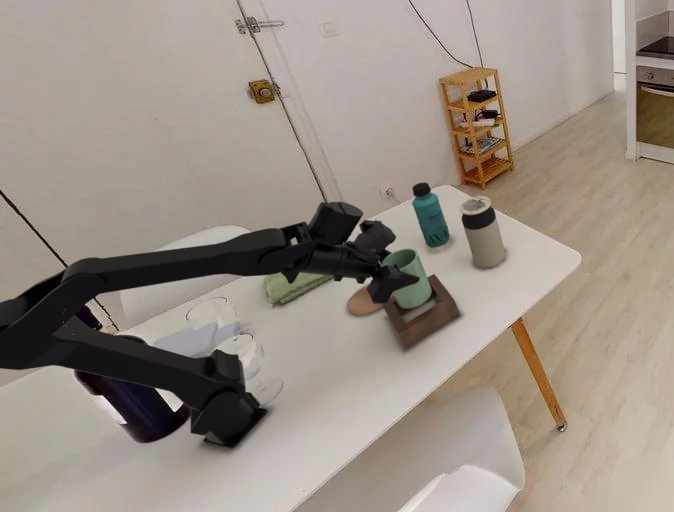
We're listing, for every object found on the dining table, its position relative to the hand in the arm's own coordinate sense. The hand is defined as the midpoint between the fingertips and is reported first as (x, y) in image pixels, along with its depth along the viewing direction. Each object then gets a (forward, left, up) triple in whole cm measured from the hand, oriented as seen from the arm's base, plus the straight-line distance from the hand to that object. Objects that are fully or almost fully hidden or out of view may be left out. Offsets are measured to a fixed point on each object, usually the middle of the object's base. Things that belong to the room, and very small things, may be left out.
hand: (412, 271), depth 88 cm
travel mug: (+19, -5, -14) cm, 24 cm away
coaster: (+2, +17, -13) cm, 22 cm away
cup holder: (-1, +1, -13) cm, 14 cm away
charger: (-16, +42, -14) cm, 47 cm away
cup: (-1, +1, -7) cm, 7 cm away
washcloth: (+6, +39, -14) cm, 42 cm away
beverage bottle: (+22, +12, -14) cm, 28 cm away
